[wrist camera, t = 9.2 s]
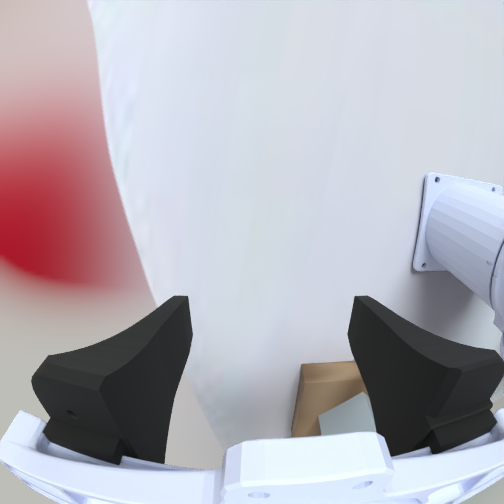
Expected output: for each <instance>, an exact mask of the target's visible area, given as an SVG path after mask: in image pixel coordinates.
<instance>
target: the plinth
mask: <svg viewBox="0 0 504 504" xmlns="http://www.w3.org/2000/svg"><path fill="white" fill-rule="evenodd" d="M361 392H364V393H365V394H366V395H367V396H368V397H369V395H368V392H367V389H366V387H365V384H364V382H363V379H362V377H361V374H360V372H359V369H358V367H357V364H356V362H355V361H346V362H333V363H316V364H302V366H301V373H300V380H299V387H298V393H297V399H296V405H295V411H294V417H293V423H292V428H291V431H292V438H295V437H310V436H322V435H321V429H320V423H319V418H318V416H319V415H321V414H323V413H325V412H327V411H329V410H331V409H332V408H334V407H336V406H338V405H340V404H342V403H344V402H345V401H347V400H349V399H351V398H353V397H354V396H356V395H358V394H360V393H361Z"/></svg>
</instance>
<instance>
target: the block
mask: <svg viewBox="0 0 504 504" xmlns="http://www.w3.org/2000/svg"><path fill="white" fill-rule="evenodd" d="M318 418H319V423H320V429H321V435H332V434H341V433H349V432H356V431H372V432H376V427H375V421H374V416H373V412H372V407H371V403H370V399H369V397H368V396H367V395H366V394H365V393H364V392H361V393H360V394H358V395H356V396H354V397H353V398H351V399H349V400H347V401H345V402H344V403H342V404H340V405H338V406H336V407H334V408H332V409H331V410H329V411H327V412H325V413H323V414H321V415H319V416H318Z"/></svg>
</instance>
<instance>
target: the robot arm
mask: <svg viewBox="0 0 504 504" xmlns="http://www.w3.org/2000/svg"><path fill="white" fill-rule="evenodd" d="M436 177H437V182H435V178H436ZM492 188H493V190H492ZM502 194H503V189H502V187H501V186H499V185H495V184H491V183H486V182H482V181H477V180H472V179H467V178H461V177H456V176H450V175H444V174H438V173H432V172H429V173H427V174H426V177H425V185H424V195H423V204H422V212H421V219H420V226H419V233H418V239H417V245H416V250H415V255H414V261H413V268H414V269H415V270H416V271H444V270H448V271H449V272H450V273H452V274H453V275H454V276H455V277H457V278H458V279H459V280H460V281H461V282H462V283H464V284H465V285H466V286H467V287H468V288H470V289H471V290H472V291H473V292H474V293H475V294H476V295H478V296H479V297H480V298H481V299H482V300H483V301H484V302H485V303H486V304H488V305H489V306H490V307H491V308H492V309H493V310H494V311H495V319H494V324H495V325H496V326H497V327H498V328H499V329H500V330H501V332H502V333H503V334H502V337H501V341H500V351H501V355H502V358H503V359H502V358H501V357H500V356H499V354H498V353H497V352H496V351H495V350H490V349H483V348H476V347H471V346H467V345H463V344H459V343H456V342H453V341H450V340H447V339H444V338H441V337H439V336H436V335H434V334H432V333H430V332H428V331H425V330H423V329H421V328H419V327H417V326H416V325H414V324H412V323H410V322H409V321H407V320H405V319H404V318H402V317H400V316H399V315H397V314H396V313H394V312H393V311H391V310H390V309H388V308H387V307H385V306H384V305H382V304H381V303H379V302H378V301H376V300H374V299H373V298H371V297H369V296H355V298H354V303H353V309H352V314H351V319H350V324H349V329H348V339H349V343H350V347H351V351H352V354H353V357H354V359H355V362H356V364H357V367H358V369H359V372H360V374H361V377H362V379H363V382H364V384H365V387H366V389H367V392H368V395H369V399H370V403H371V407H372V412H373V416H374V421H375V427H376V432H372V431H356V432H349V433H341V434H332V435H322V436H310V437H295V438H263V439H255V440H246V441H243V442H241V443H238V444H236V445H234V446H232V447H230V448H228V449H227V450H226V452H225V454H224V457H223V463H222V469H211V470H203V469H194V468H186V467H178V466H172V465H166V464H164V463H165V452H166V444H167V437H168V430H169V424H170V418H171V413H172V407H173V402H174V397H175V394H176V391H177V388H178V385H179V382H180V379H181V376H182V373H183V370H184V368H185V365H186V362H187V359H188V356H189V352H190V347H191V342H192V336H193V332H192V325H191V317H190V309H189V300H188V296H173V297H172V298H170V299H169V300H167V301H166V302H165V303H163V304H162V305H161V306H160V307H158V308H157V309H156V310H155V311H153V312H152V313H150V314H149V315H148V316H146V317H145V318H143V319H142V320H140V321H139V322H137V323H136V324H134V325H133V326H131V327H129V328H128V329H126V330H124V331H122V332H121V333H119V334H117V335H115V336H113V337H111V338H108V339H106V340H103V341H101V342H99V343H96V344H94V345H91V346H88V347H85V348H81V349H78V350H74V351H70V352H65V353H61V354H55V355H49V356H48V357H47V358H46V359H45V360H44V362H43V363H42V364H41V365H40V367H39V368H38V369H37V371H36V372H35V373H34V375H33V376H32V380H31V382H32V386H33V390H34V392H35V394H36V396H37V398H38V399H39V401H40V402H41V404H42V405H43V407H44V408H45V410H46V412H47V413H48V414H49V416H50V417H51V418H50V420H49V421H48V423H46V422H45V421H43V420H42V419H40V418H39V417H36V416H34V415H32V414H29V413H27V412H25V411H23V410H20V411H19V413H18V414H17V416H16V417H15V419H14V420H13V422H12V424H11V425H10V427H9V428H8V430H7V431H6V433H5V435H4V436H3V438H2V440H1V441H0V461H1V462H2V463H3V464H4V465H5V466H6V467H7V468H8V469H9V470H10V471H11V472H12V473H13V474H14V475H16V476H17V477H18V478H19V479H20V480H21V481H22V482H23V483H25V484H26V485H27V486H28V487H29V488H31V489H33V490H35V491H36V492H38V493H40V494H42V495H44V496H46V497H47V498H49V499H51V500H53V501H55V502H57V503H59V504H459V503H461V502H463V501H464V500H466V499H468V498H470V497H472V496H473V495H475V494H477V493H479V492H480V491H482V490H483V489H485V488H487V487H489V486H490V485H492V484H493V483H495V482H497V481H498V480H500V479H501V478H503V477H504V407H503V408H501V409H499V410H497V411H496V412H495V413H494V414H492V412H491V411H490V409H491V408H492V406H493V403H492V402H491V400H490V397H491V396H492V394H493V393H494V391H495V390H496V388H497V386H498V385H499V383H500V381H501V379H502V377H503V375H504V196H502ZM423 263H425V264H424V266H423V267H422V264H423Z"/></svg>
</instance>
